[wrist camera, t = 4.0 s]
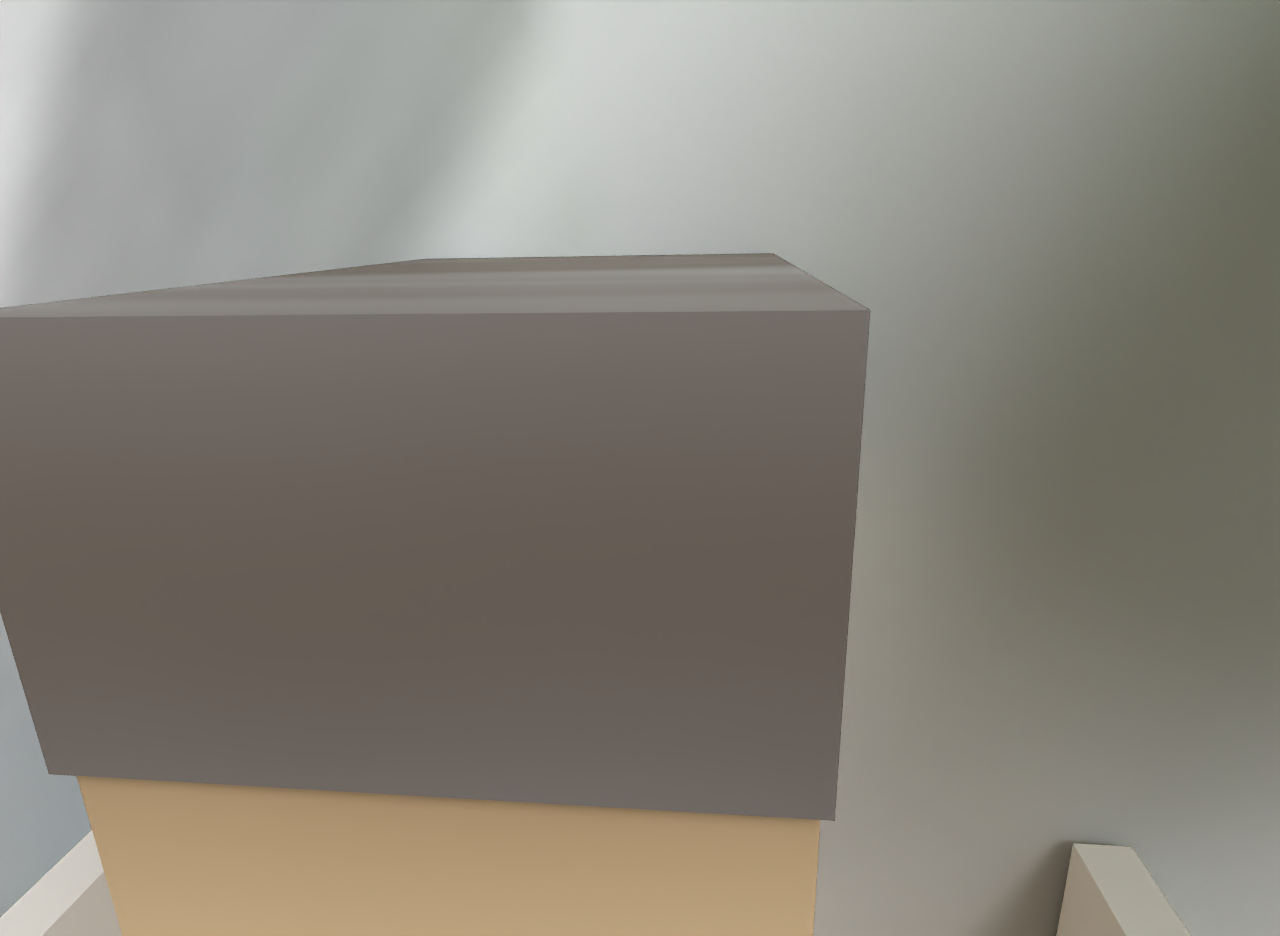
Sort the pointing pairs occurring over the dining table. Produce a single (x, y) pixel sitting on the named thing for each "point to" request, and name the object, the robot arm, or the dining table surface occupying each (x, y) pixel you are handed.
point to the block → (442, 591)
